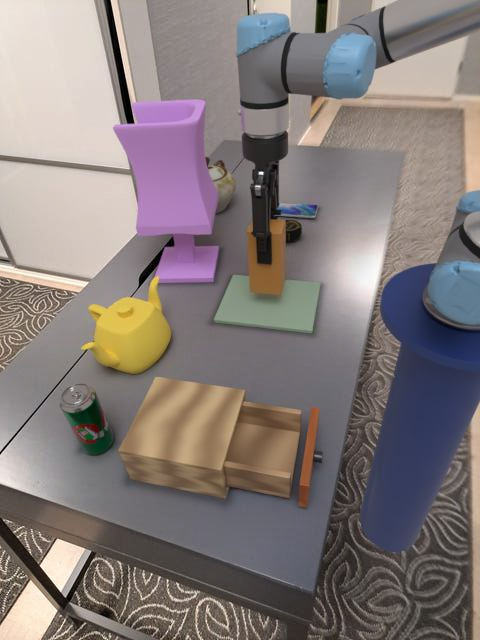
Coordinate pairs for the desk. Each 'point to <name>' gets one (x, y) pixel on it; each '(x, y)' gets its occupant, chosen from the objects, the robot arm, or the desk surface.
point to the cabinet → (183, 436)
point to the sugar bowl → (222, 183)
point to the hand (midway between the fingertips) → (267, 254)
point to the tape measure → (293, 230)
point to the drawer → (271, 451)
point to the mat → (270, 306)
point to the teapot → (130, 332)
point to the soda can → (86, 418)
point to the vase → (173, 184)
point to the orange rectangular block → (266, 275)
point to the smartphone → (298, 210)
